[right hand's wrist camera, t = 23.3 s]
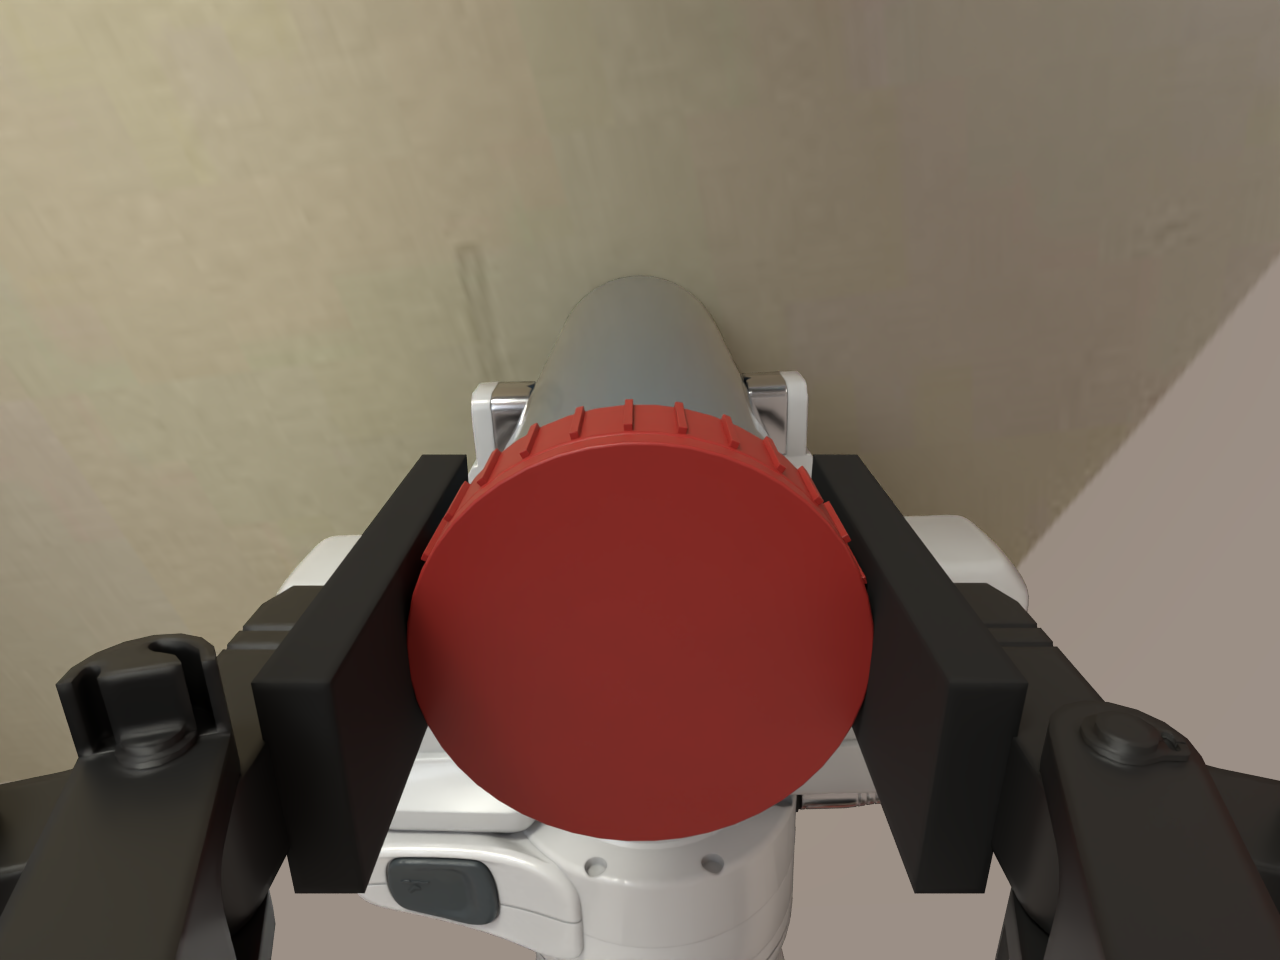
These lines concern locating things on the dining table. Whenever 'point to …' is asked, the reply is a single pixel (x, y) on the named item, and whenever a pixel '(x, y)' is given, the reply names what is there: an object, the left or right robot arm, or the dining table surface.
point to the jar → (639, 358)
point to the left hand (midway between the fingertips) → (636, 381)
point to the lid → (640, 625)
